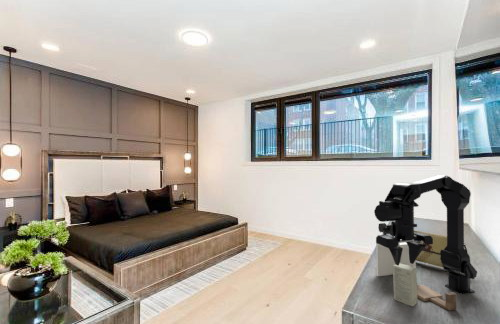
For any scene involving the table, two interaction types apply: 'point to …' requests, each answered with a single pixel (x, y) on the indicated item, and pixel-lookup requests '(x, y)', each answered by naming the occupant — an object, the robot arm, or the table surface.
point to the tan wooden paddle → (437, 297)
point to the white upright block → (390, 259)
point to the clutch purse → (433, 251)
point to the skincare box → (405, 284)
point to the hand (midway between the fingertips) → (404, 264)
